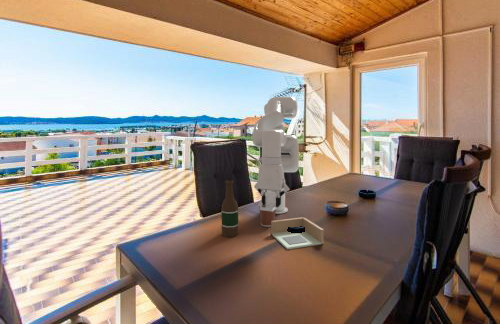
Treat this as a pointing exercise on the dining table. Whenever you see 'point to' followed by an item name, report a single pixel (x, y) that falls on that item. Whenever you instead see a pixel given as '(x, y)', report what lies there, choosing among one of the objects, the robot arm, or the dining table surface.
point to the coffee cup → (266, 216)
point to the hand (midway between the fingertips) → (271, 205)
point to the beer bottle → (229, 212)
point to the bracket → (269, 202)
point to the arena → (297, 240)
